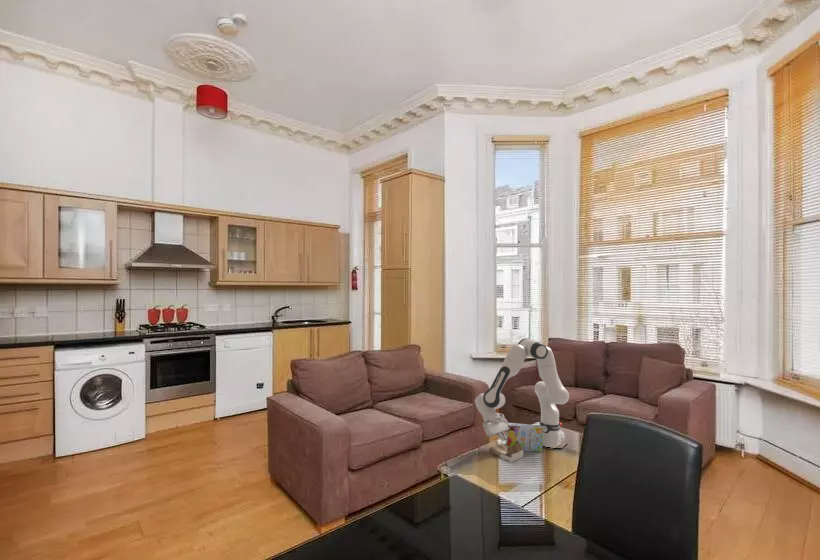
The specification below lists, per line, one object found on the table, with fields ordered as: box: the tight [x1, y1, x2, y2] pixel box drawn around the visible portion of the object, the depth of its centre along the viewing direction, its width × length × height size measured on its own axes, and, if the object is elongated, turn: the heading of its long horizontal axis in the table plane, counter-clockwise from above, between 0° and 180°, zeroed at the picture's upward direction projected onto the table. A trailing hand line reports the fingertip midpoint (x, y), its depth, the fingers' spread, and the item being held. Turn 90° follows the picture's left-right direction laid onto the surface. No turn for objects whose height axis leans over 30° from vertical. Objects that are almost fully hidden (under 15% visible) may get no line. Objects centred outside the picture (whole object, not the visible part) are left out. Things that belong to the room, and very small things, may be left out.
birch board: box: [489, 443, 510, 458], centre depth 246 cm, size 12×11×3 cm
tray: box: [499, 450, 524, 463], centre depth 241 cm, size 12×8×4 cm, turn 132°
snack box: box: [505, 422, 543, 453], centre depth 255 cm, size 21×6×15 cm, turn 86°
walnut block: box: [507, 443, 523, 455], centre depth 240 cm, size 4×4×7 cm
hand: (504, 440), depth 245 cm, fingers closed
